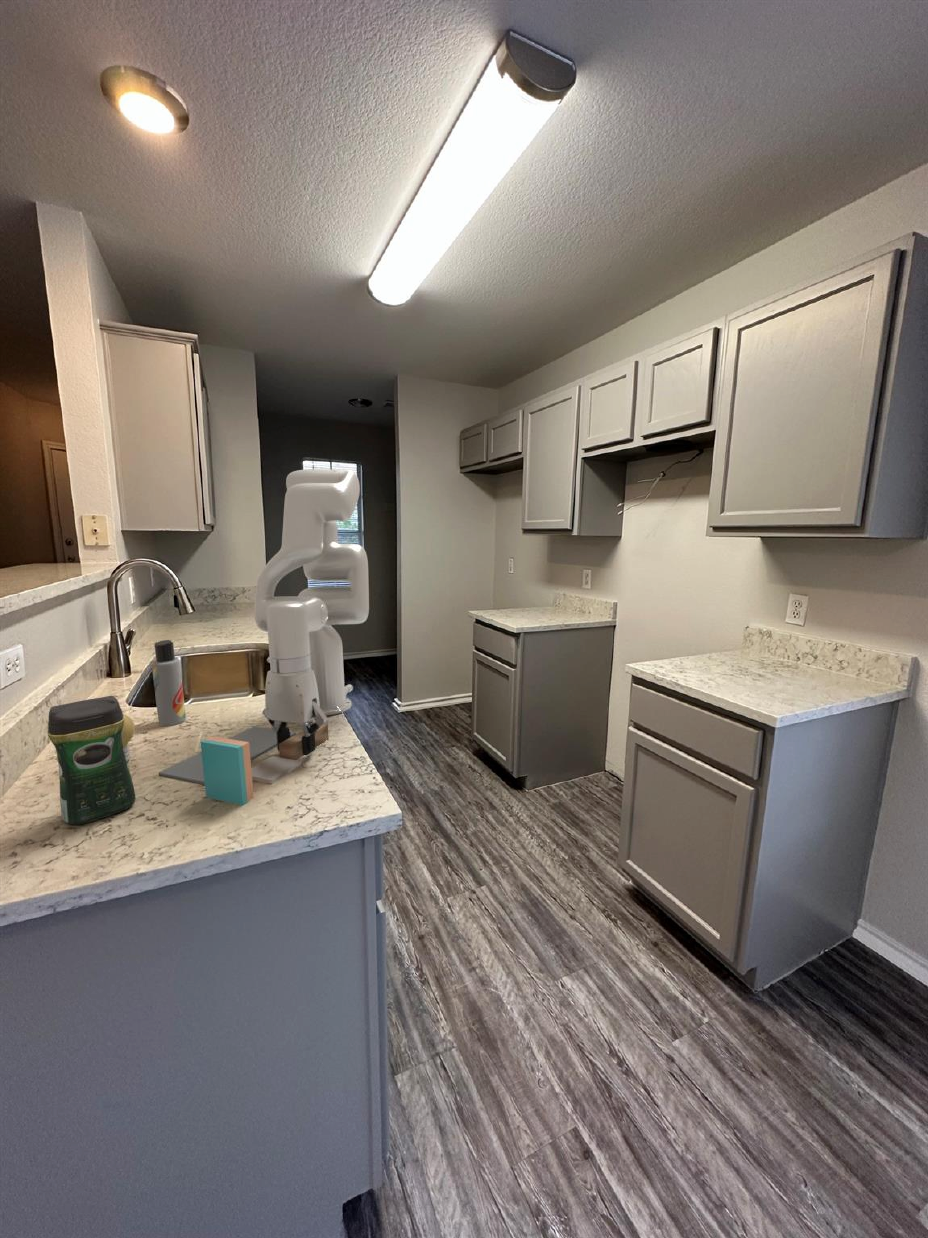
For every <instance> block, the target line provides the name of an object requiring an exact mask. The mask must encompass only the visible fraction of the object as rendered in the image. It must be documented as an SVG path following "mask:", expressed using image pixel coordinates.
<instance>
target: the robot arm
mask: <svg viewBox="0 0 928 1238" xmlns="http://www.w3.org/2000/svg"><path fill="white" fill-rule="evenodd" d="M285 480H286V482H285V486H286V492H285V496H284V508H283V518H282V519H283V523H282V535H281V547H280V549H279V551H277V553H276V554H274V555H273V557H271V558H270V560H269V561H268V562H267V563H266V564H265V566H264V567H263V569H262V571H261V572H260V574H259V576H258V579H257V582H256V587H255V598H254V609H253V610H254V612H253V613H254V621H255V623H256V626H257V627H258V629H260V630H261V631H262V632H265V633H267V639H268V651H269V653H268V654H269V656H268V657H267V659H266V662H267V663H268V664H270V665H269V666H270V670H268V671H267V674H266V677H265V678H266V679H265V686H264V687H265V690H264V691H265V692H264V698H265V700H264V705H265V706H264V708H263V710H262V715H263V716H264V717H265V718H266V719H267V720H268V723H270V725H271V726H272V729H273V730H274V732H277V746H276V747H277V751H278V752H279V744H280V743H282V742H283V741H285V740H287V739H289V738H290V732H291V729H290V727H287V726H288V724H293V725H295V724H296V725H300V726H301V729H302V730H301V731H303V733H304V736H303V737H302V751H303V755H304V757H305V756H308V755H309V754H311V753H313V752H315V750H316V748H315V732H317V730H318V729H319V728H320V727H321V725H323V724H326V722H327V721H328V716H334V715H337V714H342V713H344V712H346V711H348V710H349V709H350V708H351V707H352V700H351V699H349V698H348V697H347V695H348V693H351V691H353V690H354V686H353V685H352V684H350V683H349V684H347V685H345V673H344V657H343V656H344V654H343V653H344V651H343V641H342V638H341V636H340V634H339V632H337V630H336V629H335V628H334V627H333V626H335V625H359V624H363V623H364V622H366V621H367V619H368V618H369V617H368V616H369V613H370V612H369V611H370V599H369V598H370V592H369V591H370V590H369V588H370V587H369V561H368V555H367V552H366V550H365V547H363V546H362V545H360V544H357V543H339V539H338V538H339V537H338V529H339V528H338V524H337V522H347V521H349V520H350V519H351V518H352V517H353V514H354V511H355V509H356V506H357V504H358V501H359V498H360V493H361V492H360V489H361V487H360V481H359V478H358V475H357V474H356V473H355V472H354V471H353V470H350V469H316V468H315V469H314V468H313V469H310V468H309V469H299V470H294V471H292V472H290V473H289V474H287V476H286V479H285ZM300 567H303V573H304V575H305V577H306V578H307V579H308V580H310V581H314V582H325V583H326V582H333V583H334V582H347V583H349V585H350V586H312V587H307V588H305V589H303V590H302V591H300V592H299V593H298V595H297V596H293V595H292V596H288V595H287V596H285V595H284V596H274V595H275V591H276V587H277V585H278V583H279V582H280V581H281V580H282V579H283V578H284V577H286V576H287V575H288V574H290V573H291V572H293V571H294V570H296V569H299V568H300ZM332 625H333V626H332ZM337 706H338V707H339V708H340V710H341V711H339V709H338V708H337ZM315 719H316V721H315Z"/></svg>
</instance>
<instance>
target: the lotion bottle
mask: <svg viewBox="0 0 928 1238" xmlns="http://www.w3.org/2000/svg"><path fill="white" fill-rule="evenodd" d="M153 647H154V653H155V660H154V661H153V662H152V663H151V668H152V680H153V688H154V694H155V704H156V711H157V721H158V724H159V726H164V727H168V726H169V727H171V726H174V725H175V726H176V725H179V724H182V723H183V722H185V721H186V720H187V719H186V718H187V717H186V708H185V707H186V706H185V705H186V704H185V699H184V698H185V697H184V689H183V679H182V671H181V670H182V669H181V661H180V659H178V658H176V656H175V647H174V642H173V641H172V640H171V639H164V640H160V641H156V642H155V643H154V644H153Z"/></svg>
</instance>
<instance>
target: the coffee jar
mask: <svg viewBox="0 0 928 1238" xmlns="http://www.w3.org/2000/svg"><path fill="white" fill-rule="evenodd" d="M123 713H124V712H123V710H122V708H121V705H120V702H119V700H118V699H117V698H116V697H115V696H114V695H107V696H102V697H96V698H90V699H84V700H80V701H74V702H73V701H72V702H69V703H65V704H64V703H63V704H59V705H54V706H51V708H50V709H49V711H48V722H47V723H48V724H47V728H48V729H47V735H48V738H49V741H50V742H51V744H52V745H53V746H54V748H55V751H56V758H57V762H58V763H57V764H58V775H59V776H58V777H59V780H58V781H59V801H60V803H59V805H60V813H61V817H62V820H63V821H64V823H66V824H69V825H76V826H77V825H82V824H86V823H90V822H94V821H97V820H100V819H102V818H103V819H104V818H105V817H109V816H112V815H114V814H115V815H116V814H117V813H120V812H122V811H125V810H127V809H128V808H130V807H131V806H132V805H133V804H134V803H135V801H136V792H135V787H134V786H135V785H134V782H133V778H132V776H131V771H130V768H129V765H128V762H127V761H126V757H125V753H124V748H123V742H122V729H123V726H124V716H123Z"/></svg>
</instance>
